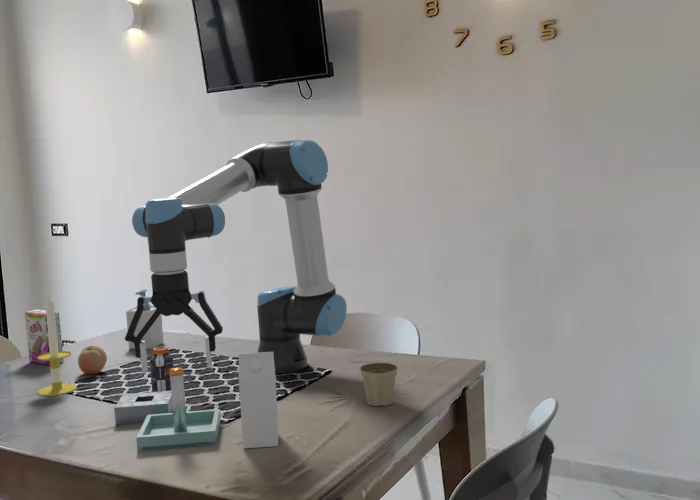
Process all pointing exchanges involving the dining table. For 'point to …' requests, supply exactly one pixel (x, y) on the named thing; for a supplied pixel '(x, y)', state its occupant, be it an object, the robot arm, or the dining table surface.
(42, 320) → the candy bar box
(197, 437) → the tray
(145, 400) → the block
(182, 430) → the pin
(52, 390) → the candle
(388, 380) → the flower pot
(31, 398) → the dining table surface
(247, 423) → the milk carton
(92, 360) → the fruit
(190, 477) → the dining table surface
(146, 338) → the soap bottle
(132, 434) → the dining table surface
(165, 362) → the pill bottle
